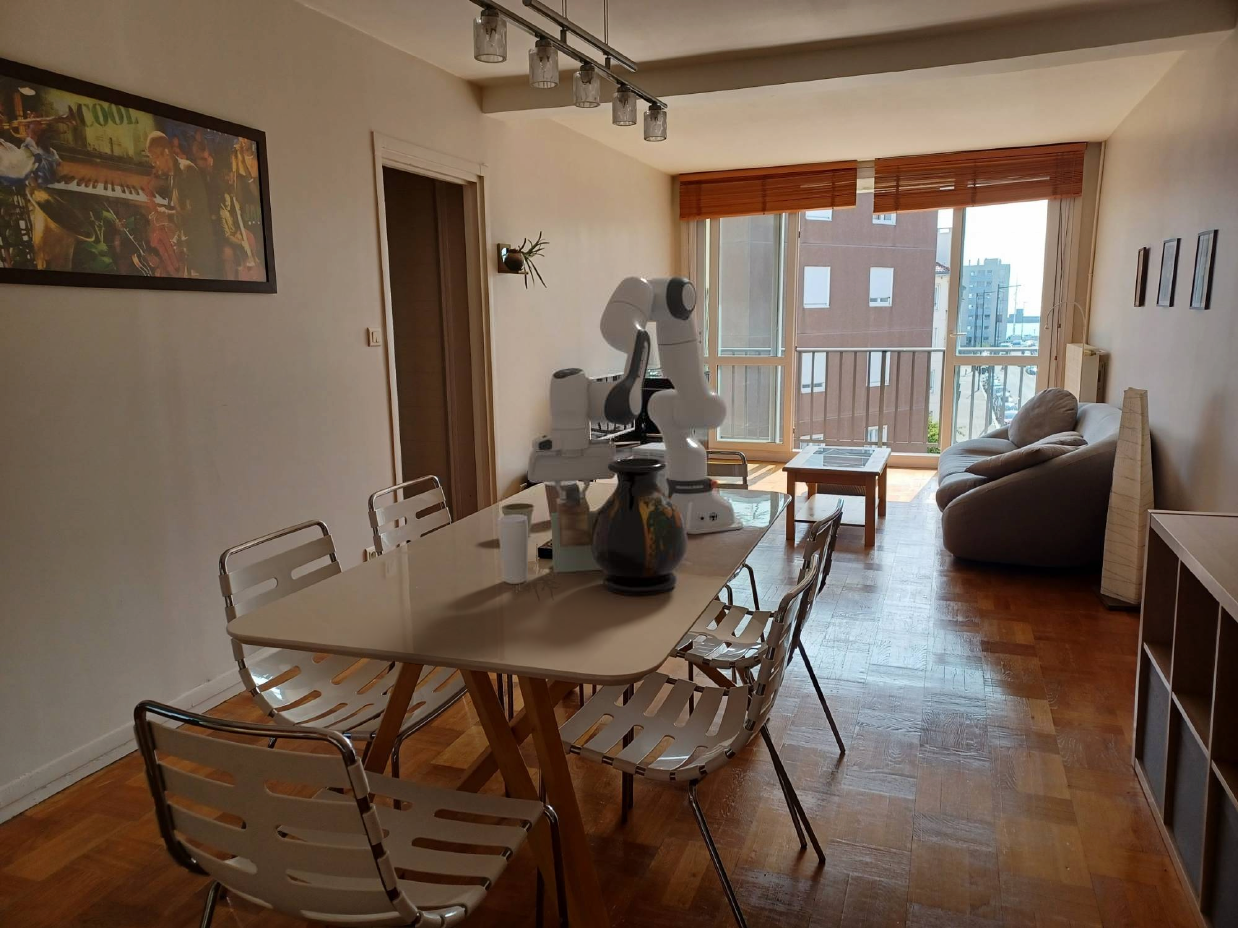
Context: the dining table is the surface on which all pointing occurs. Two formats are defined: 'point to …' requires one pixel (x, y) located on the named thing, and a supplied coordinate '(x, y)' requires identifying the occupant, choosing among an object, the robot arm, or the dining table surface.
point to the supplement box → (657, 453)
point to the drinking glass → (514, 547)
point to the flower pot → (519, 511)
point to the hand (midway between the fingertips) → (572, 499)
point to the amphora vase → (638, 531)
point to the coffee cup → (555, 494)
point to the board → (572, 551)
